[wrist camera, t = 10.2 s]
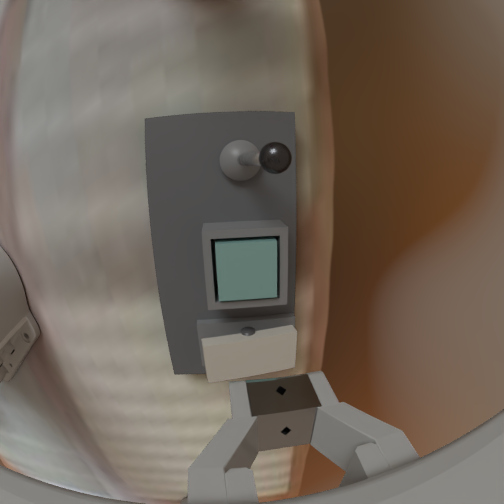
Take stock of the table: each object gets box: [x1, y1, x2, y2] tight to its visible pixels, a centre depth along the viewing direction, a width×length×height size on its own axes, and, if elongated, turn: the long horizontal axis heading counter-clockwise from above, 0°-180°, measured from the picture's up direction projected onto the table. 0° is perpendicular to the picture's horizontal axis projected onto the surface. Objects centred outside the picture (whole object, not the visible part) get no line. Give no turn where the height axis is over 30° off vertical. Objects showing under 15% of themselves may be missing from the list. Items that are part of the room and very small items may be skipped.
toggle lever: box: [237, 142, 292, 174], centre depth 19 cm, size 2×2×6 cm
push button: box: [215, 236, 277, 301], centre depth 23 cm, size 4×4×3 cm
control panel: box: [145, 111, 296, 374], centre depth 25 cm, size 24×12×6 cm, turn 2°
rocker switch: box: [201, 325, 297, 383], centre depth 25 cm, size 4×8×2 cm, turn 92°
